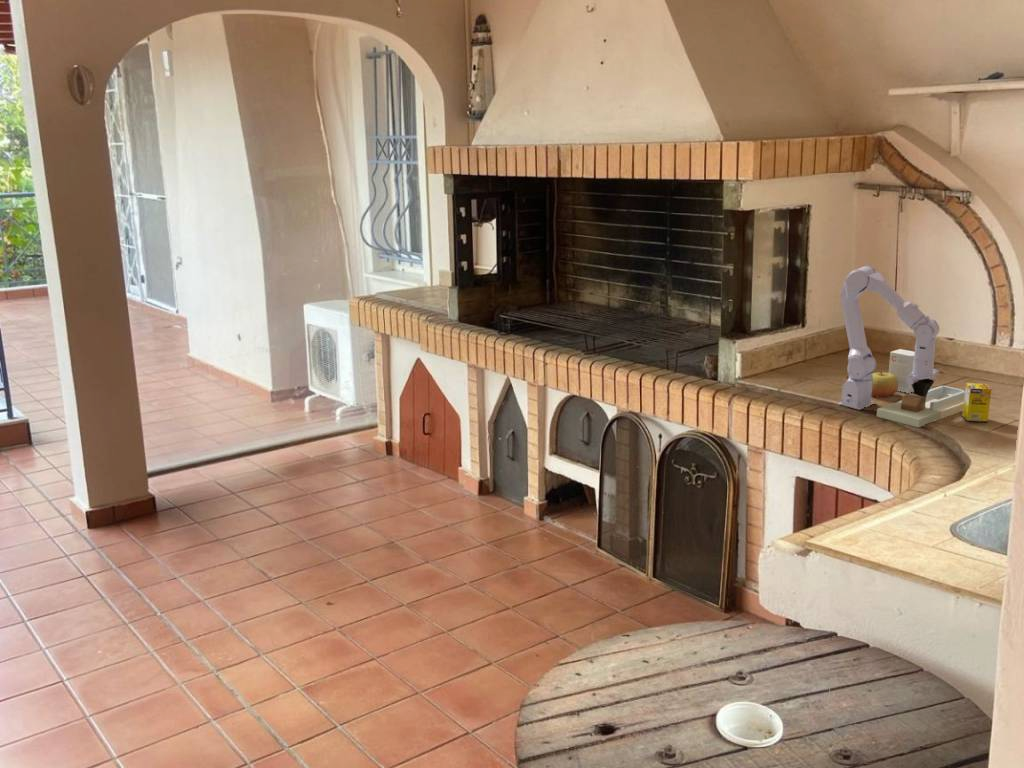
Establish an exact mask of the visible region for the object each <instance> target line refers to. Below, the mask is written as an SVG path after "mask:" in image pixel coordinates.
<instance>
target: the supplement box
mask: <svg viewBox="0 0 1024 768" xmlns="http://www.w3.org/2000/svg"><path fill="white" fill-rule="evenodd" d="M964 388H965V389H964V390H965V396H964V405H963V411H962V413H961V415H962V418H963V420H964V421H965V423H967V422H969V423H968V424H970V423H971V424H986V423H987V424H988V421H989V411H990V403H991V396H992V389H991V387H990V386H989V385H988V384H987V383H974V382H966V383H965V387H964Z"/></svg>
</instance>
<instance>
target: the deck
mask: <svg viewBox="0 0 1024 768" xmlns="http://www.w3.org/2000/svg"><path fill="white" fill-rule="evenodd" d="M964 396H965V389H961V388H958V387H957V388H956V387H951V386H947V385H943V384H942V385H940V386H937V387H934V388H931V389H929V391H928V393H927V396H926V404H925V410H922V411H919V412H916V413H915V412H911V411H907V410H903V409H901V402H902V400H899V401H896V402H893V403H890V404H888V405H884V406H881V407H878V408H876V417H877V418H880V419H885V420H888V421H892V422H896V423H900V424H904V425H907V426H910V427H915V428H921V427H924V426H926V425H925V424H926V423H929V422H931V421H934V420H937V421H939V420H938V419H940V420H942V419H941V418H943V419H945V418H947V416H948V417H950V415H951V416H953V415H955V414H958V413H961V412H963V405H964ZM944 417H945V418H944ZM929 424H930V423H929Z"/></svg>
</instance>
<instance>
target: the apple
mask: <svg viewBox="0 0 1024 768" xmlns="http://www.w3.org/2000/svg"><path fill="white" fill-rule="evenodd" d="M872 375H873V383H872V395H871V396H874V397H877V396H878V397H877V398H889V397H891V396H892V395H894V394H895V393H896V392H897V391H896V390H897V389H898V380H897V378H896V377H895V375H893V374H891V373H889V372H884V371H879V372H877V371H876V372H872ZM888 396H889V397H888Z"/></svg>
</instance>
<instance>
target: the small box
mask: <svg viewBox="0 0 1024 768" xmlns="http://www.w3.org/2000/svg"><path fill="white" fill-rule="evenodd" d="M914 354H915V350H914V351H912V350H907V349H902V348H899V349H895V350H892V351H890V354H889V365H888V366H889V367H888V373H891V374H893V375H895V377H896V378H897V380H898V389H897V391H896V392H900V391H901V392H900V393H904V392H906V394H911V392H912V393H914V390H913V387H912V385H911V384H907V383H906V377H908V376H909V375H910V374H911V373H912V372H913V364H914Z"/></svg>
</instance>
